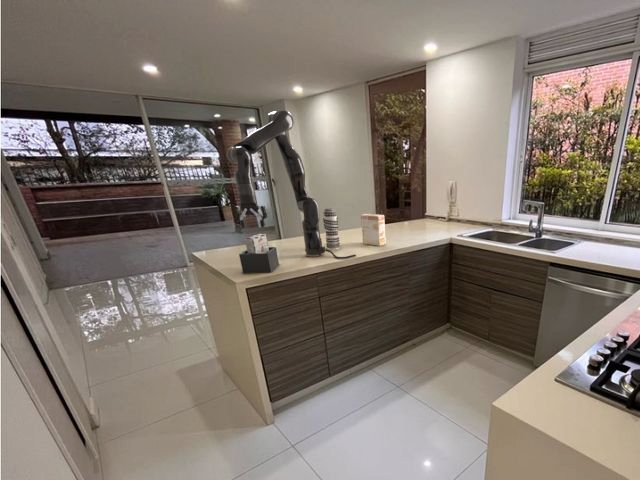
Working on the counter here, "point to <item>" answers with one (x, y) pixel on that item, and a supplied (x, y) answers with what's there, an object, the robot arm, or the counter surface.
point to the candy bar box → (257, 244)
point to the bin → (259, 261)
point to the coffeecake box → (373, 229)
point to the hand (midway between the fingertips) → (253, 227)
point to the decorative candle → (331, 229)
